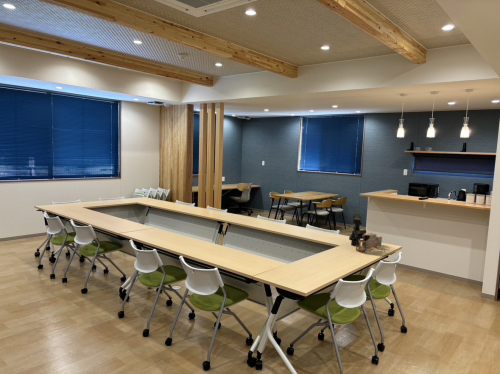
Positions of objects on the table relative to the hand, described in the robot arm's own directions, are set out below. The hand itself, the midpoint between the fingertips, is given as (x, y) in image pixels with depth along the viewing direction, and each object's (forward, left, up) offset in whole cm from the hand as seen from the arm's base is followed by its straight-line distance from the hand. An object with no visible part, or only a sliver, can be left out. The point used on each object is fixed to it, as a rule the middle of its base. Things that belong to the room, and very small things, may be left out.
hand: (361, 245), depth 321 cm
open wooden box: (-1, +1, -7) cm, 7 cm away
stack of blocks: (-3, +34, -7) cm, 35 cm away
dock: (0, +13, -7) cm, 14 cm away
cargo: (-1, +1, -6) cm, 6 cm away
